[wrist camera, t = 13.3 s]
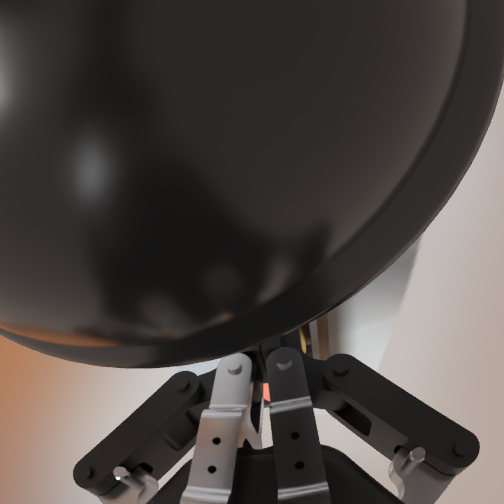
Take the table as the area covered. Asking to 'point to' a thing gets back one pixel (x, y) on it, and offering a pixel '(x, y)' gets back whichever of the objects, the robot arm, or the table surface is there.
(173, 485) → the robot arm
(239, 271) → the drinking cup
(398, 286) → the table surface
